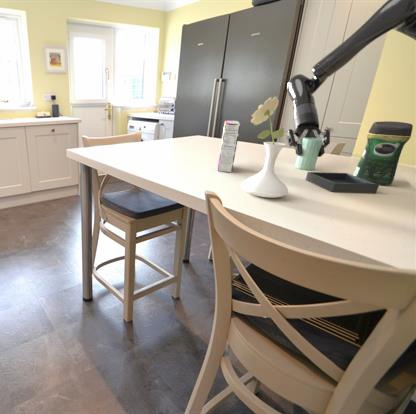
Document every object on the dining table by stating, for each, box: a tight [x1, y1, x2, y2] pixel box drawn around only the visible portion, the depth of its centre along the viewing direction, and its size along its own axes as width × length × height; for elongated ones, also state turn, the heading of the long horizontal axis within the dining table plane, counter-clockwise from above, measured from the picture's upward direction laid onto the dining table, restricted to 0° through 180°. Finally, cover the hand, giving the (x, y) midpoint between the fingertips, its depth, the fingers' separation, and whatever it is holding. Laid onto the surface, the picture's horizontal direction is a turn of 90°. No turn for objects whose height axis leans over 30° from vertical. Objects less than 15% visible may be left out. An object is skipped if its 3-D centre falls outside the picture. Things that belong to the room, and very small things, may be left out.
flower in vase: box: [240, 95, 289, 199], centre depth 73 cm, size 13×11×25 cm
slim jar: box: [294, 137, 323, 171], centre depth 104 cm, size 6×6×11 cm
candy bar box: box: [217, 120, 241, 173], centre depth 100 cm, size 11×5×16 cm, turn 159°
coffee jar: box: [352, 120, 414, 186], centre depth 87 cm, size 10×8×19 cm
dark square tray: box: [305, 171, 380, 194], centre depth 85 cm, size 12×12×3 cm
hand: (310, 155), depth 102 cm, fingers closed on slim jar, 6 cm apart
